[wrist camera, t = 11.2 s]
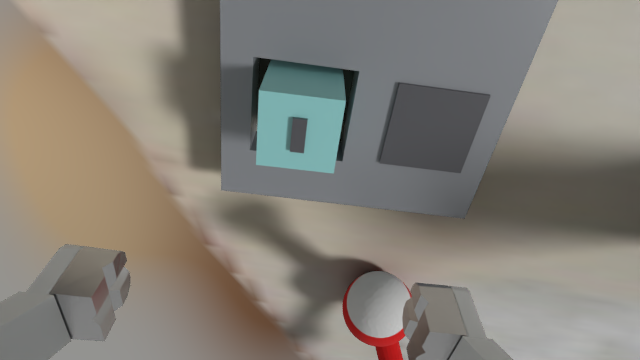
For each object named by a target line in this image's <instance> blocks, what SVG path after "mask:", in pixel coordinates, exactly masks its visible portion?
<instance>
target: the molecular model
mask: <svg viewBox="0 0 640 360" xmlns="http://www.w3.org/2000/svg"><path fill="white" fill-rule="evenodd" d="M410 298H412V296H411V293H410V291H409V289H408V288H407V287H406V285H405V284H404V283H403V282H402V281H401V280H400V279H398V278H397V277H396V276H394V275H392V274H390V273H387V272H383V271H373V272H369V273H366V274H363V275H361V276H359V277H358V278H357V279H355V280H354V281H353V282H352V283H351V284H350V286H349V287H348V289H347V291H346V293H345V296H344V299H343V316H344V320H345V322H346V325H347V327H348V328H349V330H350V331H351V332H352V334H353V335H354V336H355V337H356V338H358V339H359V340H360V341H362V342H364V343H366V344H368V345H371V346H376V351H377V355H378V359H379V360H403V358H402V354H401V350H400V346H399V342H398V341H400V340H401V339H402V338H403V337H404V336H405V334H404V330H403V321H402V316H403V308H404V306H405V303H406V301H407V300H409V299H410Z"/></svg>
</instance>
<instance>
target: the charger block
mask: <svg viewBox="0 0 640 360" xmlns="http://www.w3.org/2000/svg"><path fill="white" fill-rule="evenodd" d="M345 104H346V96H345V86H344V75H343V69H340V68H332V67H325V66H318V65H310V64H303V63H296V62H288V61H281V60H274V59H271V61H270V63H269V66H268V69H267V71H266V74H265V76H264V79H263V81H262V84H261V86H260V89H259V100H258V126H257V151H256V165H262V166H271V167H280V168H289V169H298V170H306V171H315V172H324V173H333V174H334V169H335V163H336V157H337V151H338V145H339V139H340V133H341V127H342V122H343V116H344V110H345Z"/></svg>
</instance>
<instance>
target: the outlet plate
mask: <svg viewBox="0 0 640 360" xmlns="http://www.w3.org/2000/svg"><path fill="white" fill-rule="evenodd" d="M557 2H558V0H220V68H221V190H224V191H233V192H242V193H250V194H259V195H267V196H276V197H284V198H293V199H301V200H310V201H319V202H327V203H336V204H344V205H353V206H361V207H370V208H378V209H387V210H395V211H404V212H413V213H421V214H430V215H438V216H447V217H455V218H464V219H465V216H466V214H467V212H468V209H469V207H470V205H471V202H472V200H473V198H474V195H475V193H476V191H477V188H478V186H479V184H480V181H481V179H482V177H483V174H484V172H485V170H486V167H487V165H488V163H489V160H490V158H491V156H492V153H493V151H494V149H495V146H496V144H497V142H498V139H499V137H500V135H501V132H502V130H503V128H504V125H505V123H506V121H507V118H508V116H509V114H510V111H511V109H512V107H513V104H514V102H515V100H516V97H517V95H518V93H519V90H520V88H521V86H522V83H523V81H524V79H525V76H526V74H527V72H528V69H529V67H530V65H531V62H532V60H533V58H534V55H535V53H536V51H537V48H538V46H539V44H540V41H541V39H542V37H543V34H544V32H545V30H546V27H547V25H548V23H549V20H550V18H551V16H552V13H553V11H554V9H555V6H556V4H557ZM260 58H266V59H274V60H281V61H288V62H296V63H303V64H310V65H318V66H325V67H332V68H340V69H347V70H354V75H353V81H352V86H351V92H350V97H349V103H348V108H347V114H346V119H345V125H344V130H343V136H342V141H341V142H339V145H338V151H337V157H336V163H335V169H334V174H333V173H324V172H315V171H306V170H298V169H289V168H280V167H271V166H262V165H256V151H257V131H256V123H257V102H258V81H259V59H260Z"/></svg>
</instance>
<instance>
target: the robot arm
mask: <svg viewBox="0 0 640 360" xmlns="http://www.w3.org/2000/svg"><path fill="white" fill-rule="evenodd" d="M126 261H127V258H126V255H125V252H123V251H117V250H108V249H101V248H94V247H87V246H77V245H69V244H65V245H64V246H62V247H61V248H59V250H58V251H57V252H56V254H55V255H54V256H53V257H52V259H51V260H50V261H49V262H48V264H47V265H46V266H45V268H44V269H43V270H42V272H41V273H40V274H39V276H38V277H37V278H36V279H35V281H34V282H33V283H32V284H31V286H30V287H29V288H28V290H27V291H26V292H18V293H16V294H14V295H12V296H11V297H9V298H7V299H5V300H3V301H1V302H0V360H48V359H50V358H51V357H52V356H53V355H54V354H56V353H57V352H58V351H59V350H61V349H62V348H63V347H64V346H66V345H67V344H68V343H69V342H71V339H80V340H95V341H105V339H106V337H107V336H108V333H109V331H110V330H111V328H112V326H113V324H114V322H115V320H116V318H115V314H114V311H115V310H117V309H118V308H120V307H121V306H122V305H123V304H124V302H125V300H126V298H127V296H128V292H129V288H130V273H129V271H128V270H127V269H126V268H125V267H124V265H125V263H126ZM411 296H412V298H410V299H409V300H407V301H406V303H405V306H404V308H403V316H402V321H403V330H404V334H405V335H406V336H407V337H408V339H409V340H410V341H409V343H408V345H407V354H408V359H409V360H513V359H512V358H511V357H510V356H509V355H508V354H507V353H506V352H505V351H504V350H503V349H502V348H501V347H500V346H499V345H498V344H497V343H496V342H495V341H494V340H493V339H487V337H486V334H485V331H484V328H483V326H482V323H481V320H480V318H479V315H478V312H477V309H476V307H475V304H474V301H473V299H472V296H471V293H470V291H469V290H468V289H467V288H462V287H453V286H445V285H435V284H424V283H415V284H414V285H413V286H412V288H411Z"/></svg>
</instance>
